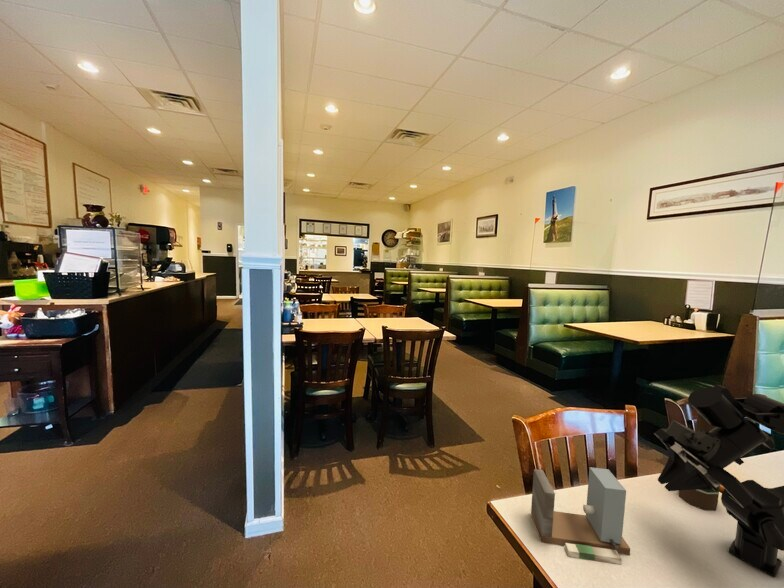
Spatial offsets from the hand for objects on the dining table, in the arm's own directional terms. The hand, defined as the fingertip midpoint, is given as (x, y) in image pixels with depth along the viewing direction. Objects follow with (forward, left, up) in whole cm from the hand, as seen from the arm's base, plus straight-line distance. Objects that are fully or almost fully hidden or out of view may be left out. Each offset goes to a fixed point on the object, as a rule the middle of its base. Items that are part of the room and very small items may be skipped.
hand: (662, 485), depth 67 cm
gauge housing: (+13, -10, -14) cm, 21 cm away
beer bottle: (-26, 0, -14) cm, 30 cm away
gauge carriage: (+10, -7, -12) cm, 17 cm away
